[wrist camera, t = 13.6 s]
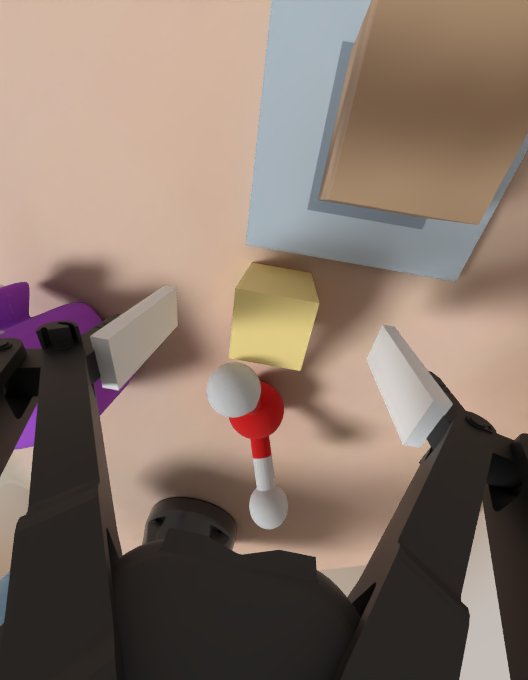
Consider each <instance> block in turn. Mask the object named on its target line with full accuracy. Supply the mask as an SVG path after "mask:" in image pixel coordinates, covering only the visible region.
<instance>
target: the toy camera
mask: <svg viewBox="0 0 528 680" xmlns="http://www.w3.org/2000/svg"><path fill="white" fill-rule="evenodd" d="M55 321H72V322H75V323H77V325H78V327H79V331H80V334H81V335H82V334H84V333H85V332H87V331H88V330H90V329H91V328H93V327H95V326H96V325H98V324H100V323H101V322H102V320H101V318H100V317H99V316H98V314H97V313H96V312H95V311H94V310H93V309H92V308H91V307H90V306H89V305H87V304H85V303H80V302H77V303H70V304H66V305H63V306H60V307H57V308H55V309H52V310H50V311H47V312H45V313H42V314H40V315H37V316H35V317H30V316H29V285H28V283H27V282H20V283H15V284H11V285H8V286H2V285H0V338H17V339H20V340H21V341H22V342H23V345H24V347H25V349H42V347H41V344H40V342H39V339H38V336H37V334H36V330H37V328H38V327H40V326H42V325H44V324H47V323H50V322H55ZM134 375H135V373H134V374H133V375H132V377H131V378H130V379H129V380H128V381H127V382H126V383H125V384H124V385H123V387H122V388H121V389H120V390H119V391H118V390H113V389H108V388H103V387H102V383H101V379H100V378H99V379H98V380H97V381H96V382H95V383H94V386H95V390H96V396H97V403H98V409H99V416H100V415H101V414H102V413H103V412H104V410H105V409H106V408H107V407H108V406H109V405H110V404H111V403H112V402H113V400H114V399H115V398H116V397H117V396H118V395H119V394H120V393H121V391H122V390H123V389H124V388H125V387H126V386H127V385H128V383H129V382H130V381H131V380H132V378H133V377H134ZM37 404H38V403H37ZM36 416H37V405H36V407H35V409H34V411H33V413H32V415H31V417H30V419H29V421H28V423H27V425H26V427H25V429H24V431H23V433H22V435H21V437H20V439H19V441H18V443H17V445H16V446H15V448H14V449H22V448H28V447H32V446H34V438H35V427H36Z"/></svg>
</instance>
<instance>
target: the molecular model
mask: <svg viewBox="0 0 528 680" xmlns="http://www.w3.org/2000/svg"><path fill="white" fill-rule="evenodd" d="M206 392H207V398H208V401H209V403H210V405H211V406H212V408H213V409H214V410H215V411H216V412H217V413H219V414H221V415H223V416H226V417H229V420H230V422H231V424H232V426H233V428H234V429H235V430H236V431H237V432H238V433H239V434H241V435H242V436H244V437H246V438H250V439H251V447H252V455H253V462H254V470H255V478H256V486H257V488H256V489H255V490H254V491H253V493H252V495H251V498H250V502H249V509H250V514H251V517H252V519H253V520H254V522H255V523H256V524H257V525H258V526H260V527H261V528H264V529H274V528H277V527H278V526H280V525H281V524H282V523H283V521H284V520H285V518H286V516H287V513H288V500H287V497H286V494H285V492H284V491H283V490H282V488H281V487H279V486H278V485H276V483H275V476H274V469H273V462H272V455H271V447H270V440H269V435H271V434H272V433H273V432H275V431H276V430H277V428H278V427H279V425H280V424H281V421H282V419H283V414H284V406H283V401H282V398H281V396H280V395H279V393H278V392H277V390H276V389H274V388H273V387H272V386H271V385H269V384H267V383H264V382H260V381H259V378H258V376H257V375H256V373H255V372H254V371H253V370H252V369H251V368H250V367H248V366H246V365H244V364H241V363H227V364H224V365H222V366H220V367H219V368H217V369H216V370H215V371H214V372H213V373H212V375H211V376H210V378H209V380H208V384H207V391H206Z"/></svg>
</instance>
